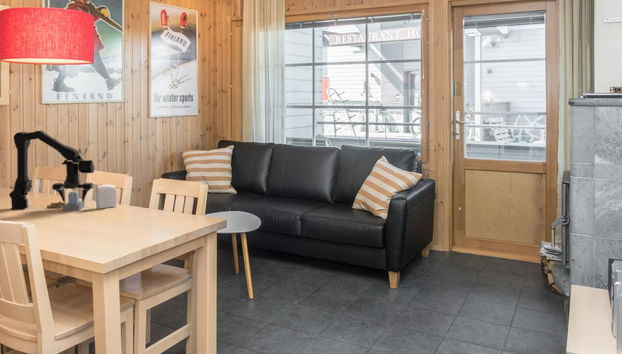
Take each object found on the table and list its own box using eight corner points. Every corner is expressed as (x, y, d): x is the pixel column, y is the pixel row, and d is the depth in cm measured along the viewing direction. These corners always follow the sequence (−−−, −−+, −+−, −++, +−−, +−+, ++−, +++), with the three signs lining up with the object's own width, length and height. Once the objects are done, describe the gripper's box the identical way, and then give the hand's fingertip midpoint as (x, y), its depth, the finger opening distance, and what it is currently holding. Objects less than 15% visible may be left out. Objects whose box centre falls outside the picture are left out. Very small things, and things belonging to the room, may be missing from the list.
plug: (68, 209, 267) (68, 192, 266) (70, 207, 271) (70, 190, 269) (76, 209, 267) (76, 192, 266) (78, 207, 271) (78, 190, 270)
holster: (47, 208, 268) (46, 205, 267) (55, 202, 283) (55, 200, 282) (65, 208, 269) (65, 205, 269) (73, 202, 284) (73, 200, 284)
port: (62, 210, 262) (62, 205, 262) (68, 206, 274) (68, 201, 274) (79, 210, 264) (79, 204, 264) (84, 206, 276) (84, 200, 275)
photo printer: (114, 205, 278) (113, 183, 277) (117, 207, 275) (116, 184, 273) (95, 208, 271) (94, 185, 269) (98, 209, 268) (97, 186, 266)
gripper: (48, 175, 257) (49, 205, 259) (87, 174, 261) (89, 204, 263) (55, 172, 268) (56, 201, 270) (92, 172, 271) (93, 201, 273)
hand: (73, 202), depth 269 cm, fingers open, 9 cm apart
